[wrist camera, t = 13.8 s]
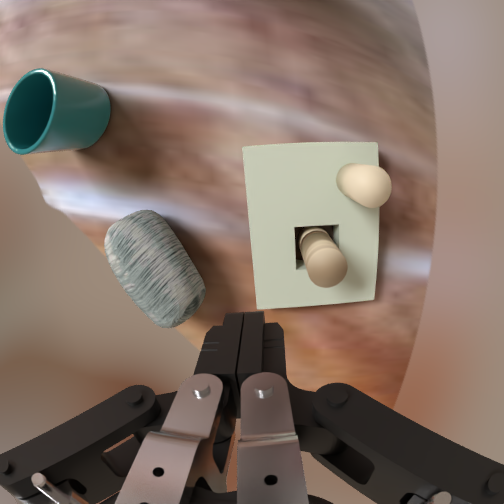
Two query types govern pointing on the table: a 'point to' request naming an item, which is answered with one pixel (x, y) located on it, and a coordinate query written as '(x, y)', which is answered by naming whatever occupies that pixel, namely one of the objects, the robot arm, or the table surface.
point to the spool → (154, 268)
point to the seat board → (313, 217)
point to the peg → (321, 257)
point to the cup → (54, 113)
